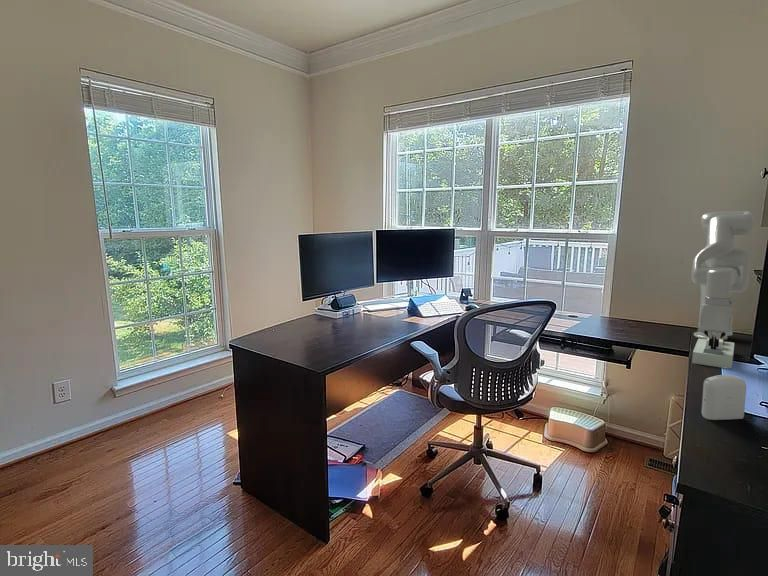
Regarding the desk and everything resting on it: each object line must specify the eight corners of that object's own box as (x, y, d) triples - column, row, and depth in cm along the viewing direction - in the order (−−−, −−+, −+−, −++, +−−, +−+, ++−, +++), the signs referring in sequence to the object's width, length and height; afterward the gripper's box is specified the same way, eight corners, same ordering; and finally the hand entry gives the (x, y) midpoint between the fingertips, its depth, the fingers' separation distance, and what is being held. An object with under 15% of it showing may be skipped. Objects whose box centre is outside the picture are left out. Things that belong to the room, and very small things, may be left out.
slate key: (704, 355, 167) (705, 345, 166) (721, 357, 163) (721, 347, 163) (703, 358, 163) (704, 348, 162) (720, 360, 160) (721, 350, 159)
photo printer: (709, 421, 117) (712, 378, 115) (698, 414, 121) (701, 373, 119) (746, 420, 117) (750, 377, 115) (734, 413, 121) (737, 372, 119)
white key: (706, 346, 172) (707, 337, 172) (722, 348, 169) (723, 339, 169) (705, 349, 169) (706, 340, 168) (721, 351, 165) (722, 342, 165)
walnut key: (708, 342, 178) (708, 333, 178) (723, 344, 175) (724, 335, 175) (707, 345, 175) (708, 336, 174) (722, 347, 171) (723, 337, 171)
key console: (697, 348, 182) (698, 338, 182) (733, 353, 175) (734, 342, 174) (692, 363, 164) (692, 351, 164) (731, 369, 157) (732, 357, 156)
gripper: (743, 302, 158) (738, 349, 160) (693, 298, 168) (690, 343, 170) (742, 305, 152) (738, 354, 155) (692, 301, 162) (688, 347, 165)
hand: (713, 348), depth 162 cm, fingers closed
